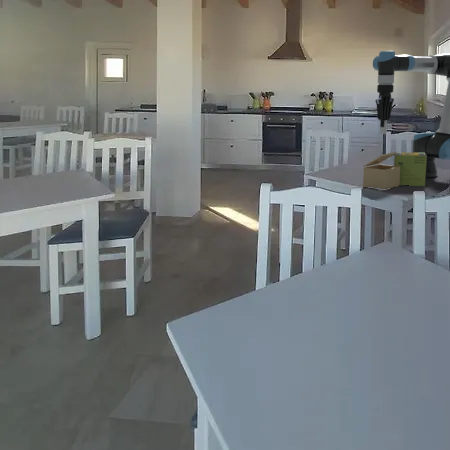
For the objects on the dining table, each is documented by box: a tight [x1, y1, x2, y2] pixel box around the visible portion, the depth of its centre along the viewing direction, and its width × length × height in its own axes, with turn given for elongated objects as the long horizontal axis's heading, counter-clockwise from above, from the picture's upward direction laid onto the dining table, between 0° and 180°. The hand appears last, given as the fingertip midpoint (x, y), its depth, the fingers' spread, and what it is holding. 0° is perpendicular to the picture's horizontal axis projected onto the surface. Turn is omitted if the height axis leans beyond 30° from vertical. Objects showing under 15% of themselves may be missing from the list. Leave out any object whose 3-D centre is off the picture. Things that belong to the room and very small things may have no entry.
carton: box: [362, 163, 400, 190], centre depth 320 cm, size 14×12×10 cm
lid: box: [363, 151, 399, 168], centre depth 318 cm, size 14×12×1 cm
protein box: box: [393, 151, 427, 187], centre depth 326 cm, size 10×15×16 cm
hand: (383, 133), depth 314 cm, fingers closed
